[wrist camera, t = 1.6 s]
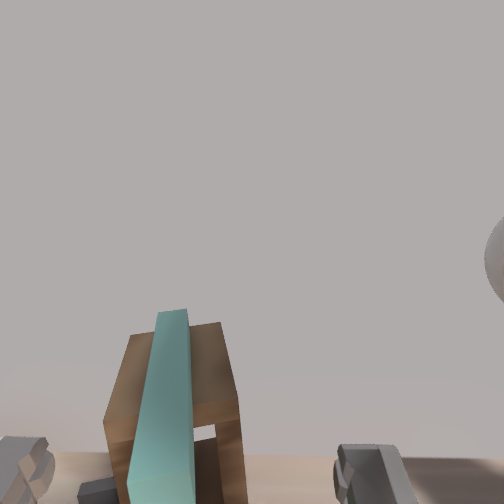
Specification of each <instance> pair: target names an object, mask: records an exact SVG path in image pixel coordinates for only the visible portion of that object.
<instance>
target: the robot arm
mask: <svg viewBox="0 0 504 504" xmlns="http://www.w3.org/2000/svg"><path fill="white" fill-rule="evenodd" d="M484 260H485V269H486V273H487V277H488V279H489V282H490V284H491V286H492V288H493V289H494V291H495V293H496V294H497V295H498V297H499V298H500V299H501V300H502V301H503V302H504V217H503V218H502V219H501V220H500V221H499V223H498V224H497V225H496V226H495V228H494V229H493V231H492V233H491V235H490V237H489V239H488V242H487V245H486V249H485V258H484ZM48 445H49V444H48V442H47V440H46V438H45V437H12V436H0V504H37V500H38V499H39V498H40V497H41V496H42V495H43V494H44V493H46V492H47V490H48V488H49V485H50V483H51V481H52V478H53V474H54V470H55V459H54V456H53V454H52V453H50V452H49V451H47V450H46V449H47V447H48ZM337 452H338V457H339V458H338V459H337V460H335V463H334V469H333V479H334V488H335V494H336V498H337V500H338V501H339V502H340V503H341V504H418V502H417V499H416V497H415V494H414V491H413V489H412V486H411V483H410V480H409V478H408V475H407V472H406V470H405V467H404V464H403V462H402V459H401V456H400V454H399V451H398V449H397V448H396V447H395V446H393V445H375V444H341V445H340V446H339V447H338V451H337Z"/></svg>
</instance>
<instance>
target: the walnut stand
mask: <svg viewBox="0 0 504 504" xmlns="http://www.w3.org/2000/svg"><path fill="white" fill-rule="evenodd" d="M189 330H190V347H191V376H192V406H193V428H195V427H201V426H206V425H211V424H215V431H216V437H215V438H210V439H206V440H201V441H196V442H194V465H195V495H196V504H248V496H247V486H246V476H245V465H244V455H243V444H242V434H241V424H240V413H239V403H238V396H237V391H236V387H235V383H234V378H233V374H232V369H231V365H230V361H229V357H228V352H227V348H226V344H225V340H224V335H223V331H222V327H221V323H220V322H216V323H210V324H204V325H196V326H189ZM153 337H154V332H149V333H142V334H135V335H131V336H130V339H129V342H128V345H127V349H126V351H125V354H124V358H123V361H122V364H121V367H120V370H119V373H118V377H117V380H116V383H115V386H114V389H113V392H112V395H111V398H110V401H109V404H108V407H107V410H106V414H105V416H104V420H103V425H104V430H105V434H106V439H107V444H108V449H109V454H110V459H111V464H112V468H113V473H114V478H115V483H116V488H117V492H118V497H119V502H120V504H131V502H130V497H129V492H128V487H127V478H128V473H129V467H130V462H131V457H132V451H133V446H134V440H135V435H136V429H137V424H138V419H139V413H140V408H141V402H142V397H143V391H144V386H145V380H146V375H147V370H148V364H149V359H150V353H151V348H152V342H153Z"/></svg>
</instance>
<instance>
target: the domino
mask: <svg viewBox="0 0 504 504" xmlns="http://www.w3.org/2000/svg"><path fill="white" fill-rule="evenodd" d="M77 498H78V502H79V504H120V502H119V497H118V492H117V488H116V483H115V478H114V477H111V478H106V479H101V480H96V481H92V482H87V483H82V484H81V486H80V489H79V492H78V495H77Z"/></svg>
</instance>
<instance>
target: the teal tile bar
mask: <svg viewBox="0 0 504 504" xmlns="http://www.w3.org/2000/svg"><path fill="white" fill-rule="evenodd" d="M127 487H128V492H129V497H130V502H131V504H196V495H195V465H194V436H193V406H192V376H191V347H190V330H189V322H188V314H187V309H181V310H173V311H166V312H159V313H158V315H157V321H156V326H155V332H154V337H153V342H152V348H151V353H150V359H149V364H148V370H147V375H146V380H145V386H144V391H143V397H142V402H141V408H140V413H139V419H138V424H137V429H136V435H135V440H134V446H133V451H132V457H131V462H130V467H129V473H128V478H127Z"/></svg>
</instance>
